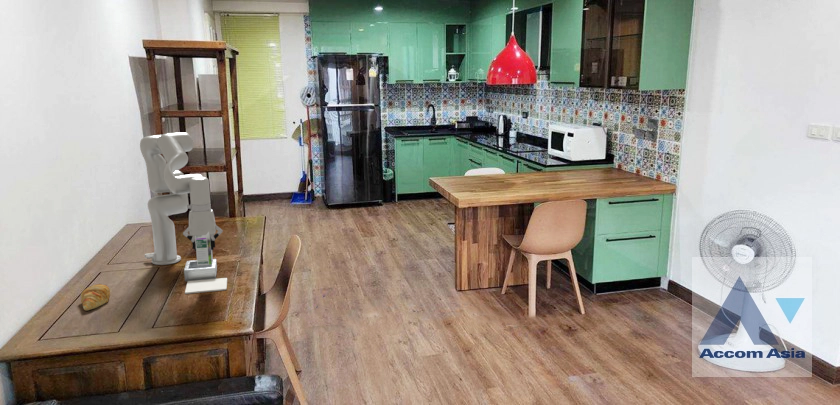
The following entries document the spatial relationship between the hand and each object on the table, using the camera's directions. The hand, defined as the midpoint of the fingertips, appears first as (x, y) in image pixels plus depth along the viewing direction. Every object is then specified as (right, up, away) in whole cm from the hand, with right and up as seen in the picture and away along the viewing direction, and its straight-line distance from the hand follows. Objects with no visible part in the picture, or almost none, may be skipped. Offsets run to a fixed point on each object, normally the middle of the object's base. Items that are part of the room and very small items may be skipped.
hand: (204, 249), depth 231 cm
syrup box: (0, -6, +1) cm, 6 cm away
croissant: (-37, -20, -13) cm, 44 cm away
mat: (0, -16, +4) cm, 16 cm away
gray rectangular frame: (-9, -12, +19) cm, 24 cm away
